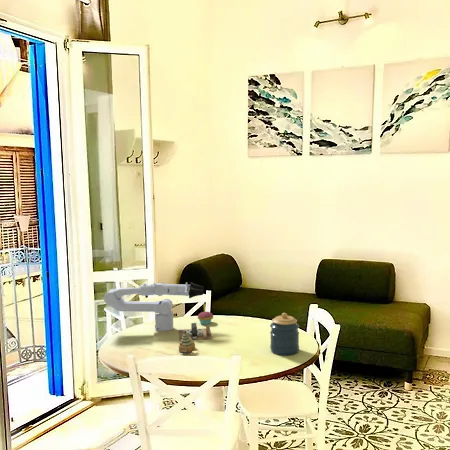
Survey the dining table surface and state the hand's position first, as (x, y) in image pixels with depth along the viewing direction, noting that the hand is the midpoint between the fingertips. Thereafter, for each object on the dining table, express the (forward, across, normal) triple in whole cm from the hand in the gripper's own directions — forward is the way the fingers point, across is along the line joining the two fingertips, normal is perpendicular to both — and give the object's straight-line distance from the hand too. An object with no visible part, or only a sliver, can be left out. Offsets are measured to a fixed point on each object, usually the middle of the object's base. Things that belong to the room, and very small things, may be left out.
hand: (203, 290), depth 251 cm
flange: (-4, -14, +19) cm, 24 cm away
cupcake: (+2, +8, +21) cm, 23 cm away
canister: (+39, -35, +18) cm, 55 cm away
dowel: (+3, -12, +20) cm, 24 cm away
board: (-3, -12, +20) cm, 24 cm away
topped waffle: (-6, -33, +20) cm, 39 cm away
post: (-4, -12, +20) cm, 24 cm away
